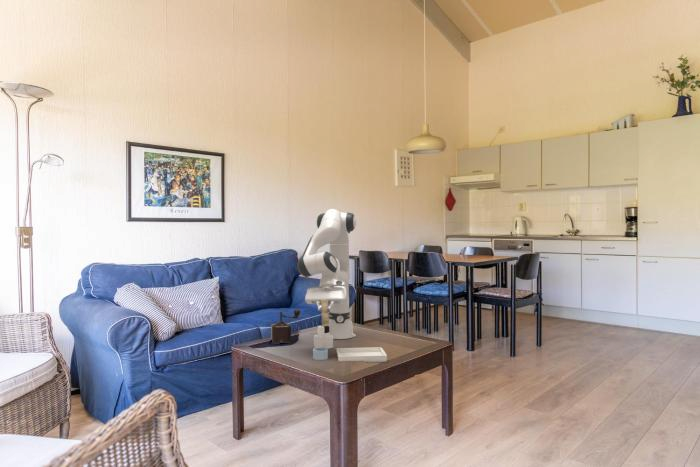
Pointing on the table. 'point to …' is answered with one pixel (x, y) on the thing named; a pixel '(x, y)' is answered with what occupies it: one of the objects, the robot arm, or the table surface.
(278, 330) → the brown coffee grinder
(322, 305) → the dowel
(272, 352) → the table surface
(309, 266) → the robot arm
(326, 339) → the medicine bottle
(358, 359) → the tray
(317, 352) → the cup
